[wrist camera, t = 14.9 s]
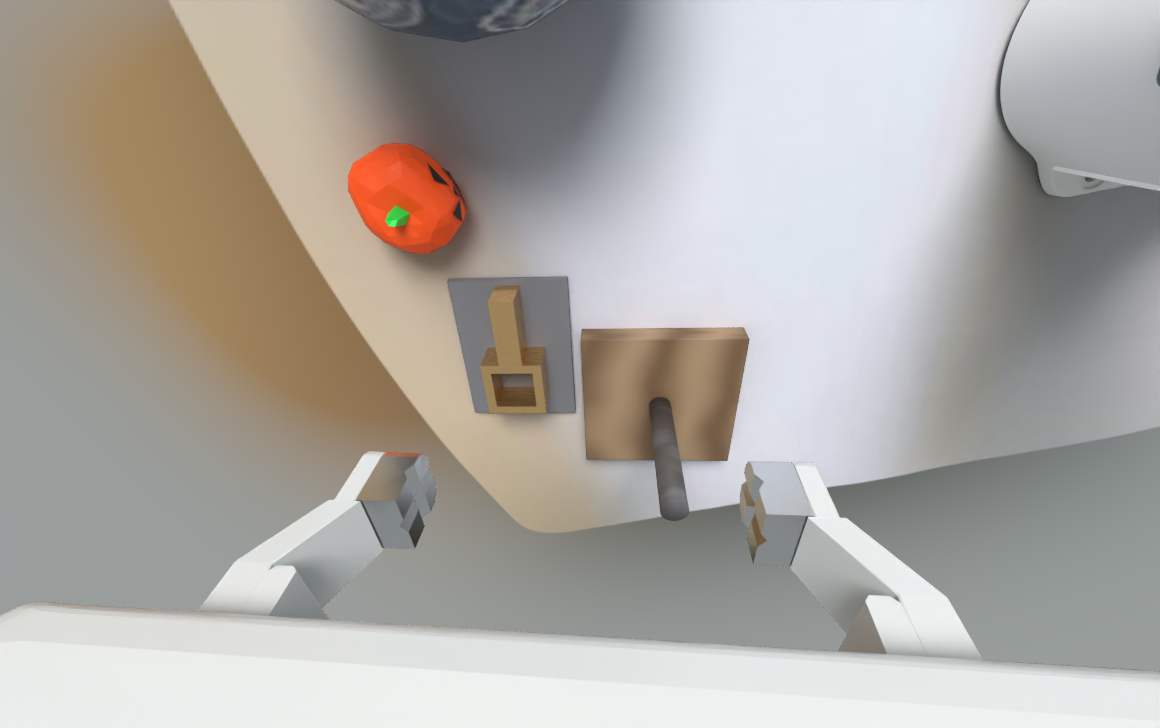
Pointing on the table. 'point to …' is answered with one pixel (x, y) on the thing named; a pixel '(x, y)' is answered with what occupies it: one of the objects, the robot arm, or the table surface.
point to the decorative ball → (454, 16)
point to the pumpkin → (406, 198)
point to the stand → (662, 399)
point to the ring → (512, 358)
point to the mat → (542, 328)
